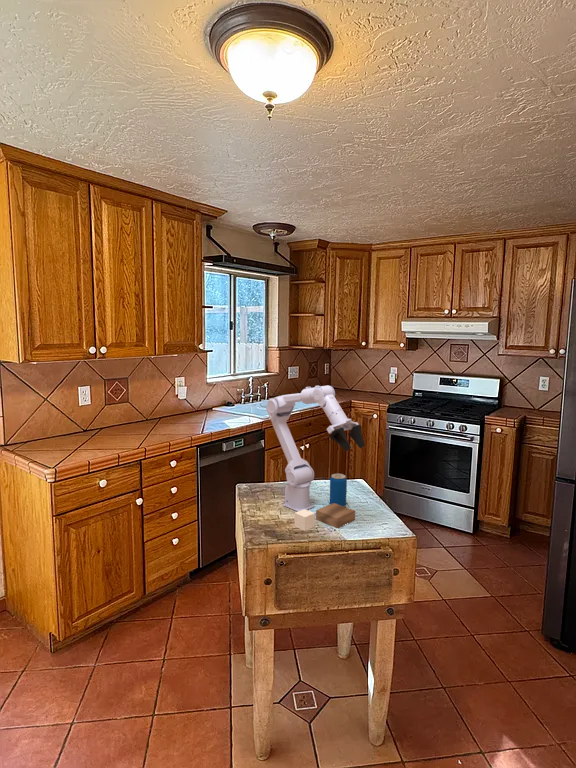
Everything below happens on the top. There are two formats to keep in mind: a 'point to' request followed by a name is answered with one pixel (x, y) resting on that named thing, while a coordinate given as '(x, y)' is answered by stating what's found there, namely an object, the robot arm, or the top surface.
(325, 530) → the top surface
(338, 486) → the beverage can
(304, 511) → the cube
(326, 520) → the walnut box
